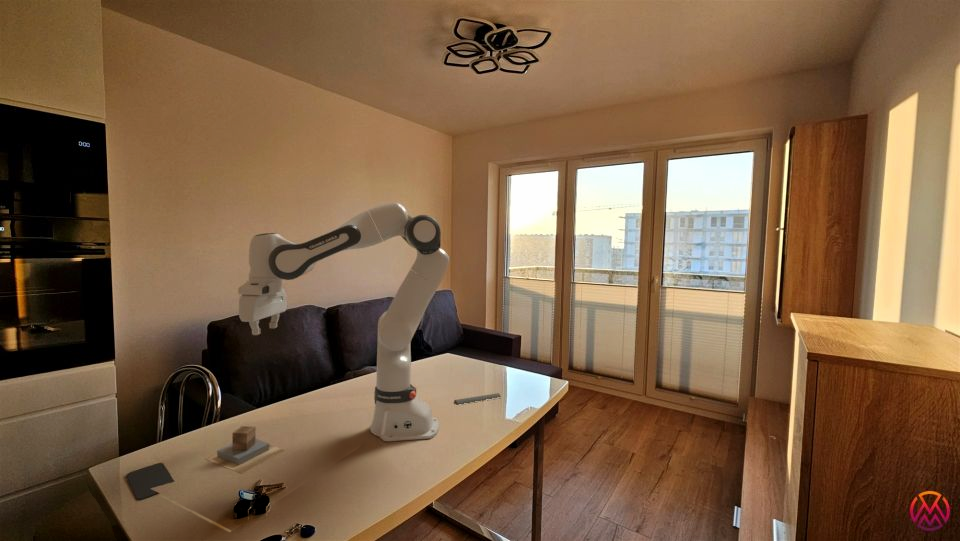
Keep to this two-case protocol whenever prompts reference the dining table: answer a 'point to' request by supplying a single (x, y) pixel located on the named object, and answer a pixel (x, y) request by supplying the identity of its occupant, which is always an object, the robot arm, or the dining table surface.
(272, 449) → the cork board
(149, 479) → the phone
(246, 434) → the walnut block
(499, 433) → the dining table surface
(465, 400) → the grey toothed bar
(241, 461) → the slate tile
